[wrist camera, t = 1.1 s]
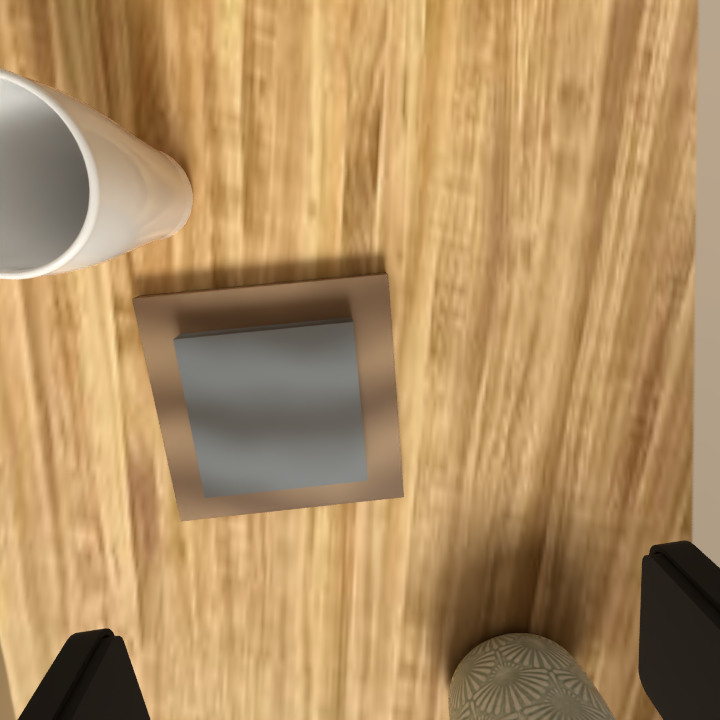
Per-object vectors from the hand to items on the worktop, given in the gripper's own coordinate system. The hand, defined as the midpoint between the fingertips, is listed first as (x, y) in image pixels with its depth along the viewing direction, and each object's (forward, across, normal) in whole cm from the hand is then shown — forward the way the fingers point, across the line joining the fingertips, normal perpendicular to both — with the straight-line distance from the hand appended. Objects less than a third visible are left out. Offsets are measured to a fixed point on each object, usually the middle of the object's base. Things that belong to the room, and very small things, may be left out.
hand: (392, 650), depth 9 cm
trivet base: (+26, +5, +4) cm, 27 cm away
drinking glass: (+26, +11, -10) cm, 30 cm away
